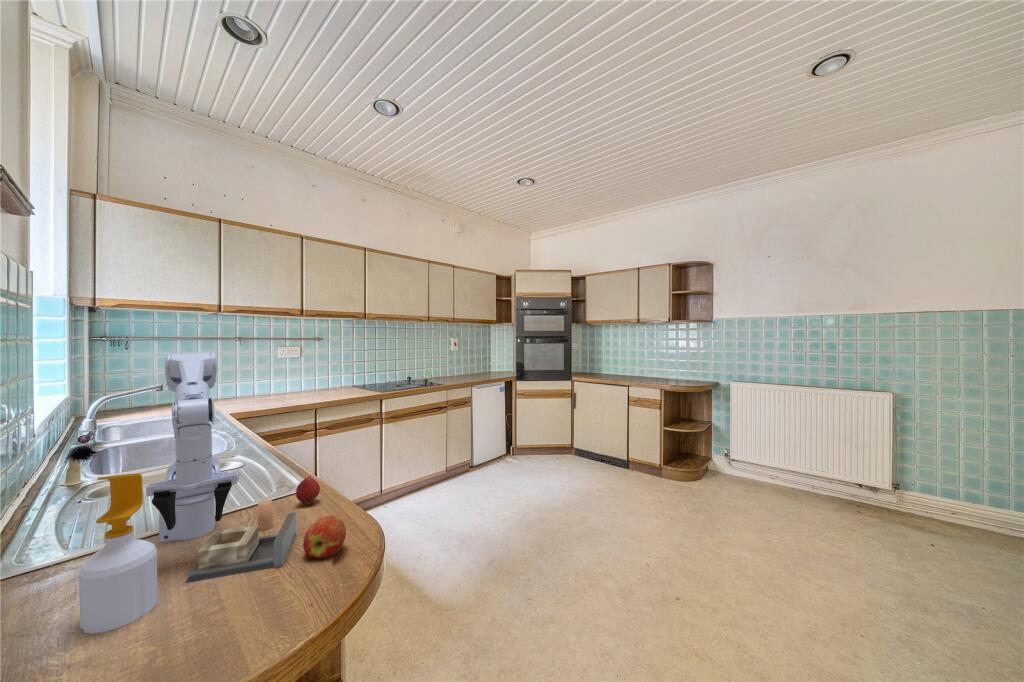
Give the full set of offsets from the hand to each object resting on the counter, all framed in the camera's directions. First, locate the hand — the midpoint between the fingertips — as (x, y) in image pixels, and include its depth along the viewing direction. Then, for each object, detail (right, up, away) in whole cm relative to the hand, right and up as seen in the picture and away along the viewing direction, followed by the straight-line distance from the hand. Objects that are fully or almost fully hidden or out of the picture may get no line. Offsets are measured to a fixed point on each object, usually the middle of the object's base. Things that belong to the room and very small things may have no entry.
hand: (195, 523), depth 78 cm
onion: (+8, -8, +28) cm, 30 cm away
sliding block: (+7, -8, +1) cm, 10 cm away
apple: (+25, -9, +4) cm, 27 cm away
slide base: (+9, -9, +2) cm, 13 cm away
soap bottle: (-1, -9, -14) cm, 17 cm away
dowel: (+6, -8, +13) cm, 17 cm away
